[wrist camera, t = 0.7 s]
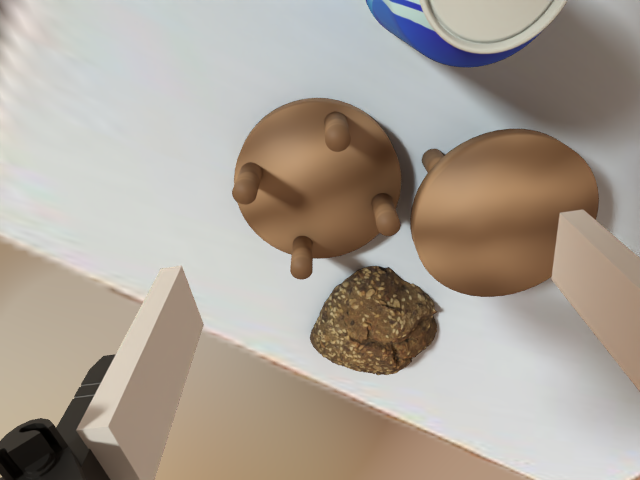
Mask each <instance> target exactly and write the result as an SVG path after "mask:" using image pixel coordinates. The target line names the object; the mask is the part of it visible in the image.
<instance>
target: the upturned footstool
mask: <svg viewBox="0 0 640 480" xmlns="http://www.w3.org/2000/svg"><path fill="white" fill-rule="evenodd" d="M400 191H401V171H400V165H399V161H398V158H397V155H396V153H395V150H394V148H393V146H392V144H391V142H390V139H389V138H388V136H387V135H386V133H385V131H384V130H383V129H382V128H381V127H380V125H379V124H378V123H377V122H376V121H375V120H374V119H373V118H372V117H370V116H369V115H368V114H366V113H365V112H363V111H362V110H360V109H359V108H357V107H355V106H353V105H350V104H348V103H345V102H342V101H338V100H333V99H328V98H310V99H302V100H298V101H293V102H291V103H288V104H285V105H283V106H281V107H279V108H277V109H275V110H273V111H272V112H271V113H269V114H268V115H266V116H265V117H264V118H263V119H262V120H261V121H260V122H259V123H258V124H256V126H255V127H254V128H253V130H252V131H251V132H250V134H249V135H248V137H247V139H246V140H245V142H244V145H243V147H242V149H241V152H240V154H239V157H238V159H237V163H236V168H235V176H234V188H233V191H232V195H233V198H234V199H235V200H236V201H237V202H238V205H239V208H240V210H241V212H242V214H243V217H244V218H245V220H246V221H247V223H248V224H249V226H250V227H251V228H252V229H253V230H254V232H255V233H256V234H257V235H258V236H260V237H261V238H262V239H263V240H264V241H266V242H267V243H269V244H270V245H271V246H273V247H275V248H277V249H279V250H281V251H283V252H286V253H288V254H291V255H292V258H291V270H290V271H291V274H292V275H293V276H294V277H295V278H297V279H306V278H308V277H309V276H310V275H311V274H312V261H313V258H330V257H336V256H340V255H344V254H347V253H350V252H352V251H354V250H357V249H359V248H360V247H362V246H364V245H365V244H367V243H368V242H370V241H371V240H372V239H374V238H375V237H376V236H377V235H378V234H379V233H381V234H382V235H385V236H391V235H394V234H396V233H397V232H398V231H399V229H400V226H401V224H400V220H399V218H398V215H397V212H396V207H397V204H398V200H399V197H400Z"/></svg>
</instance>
